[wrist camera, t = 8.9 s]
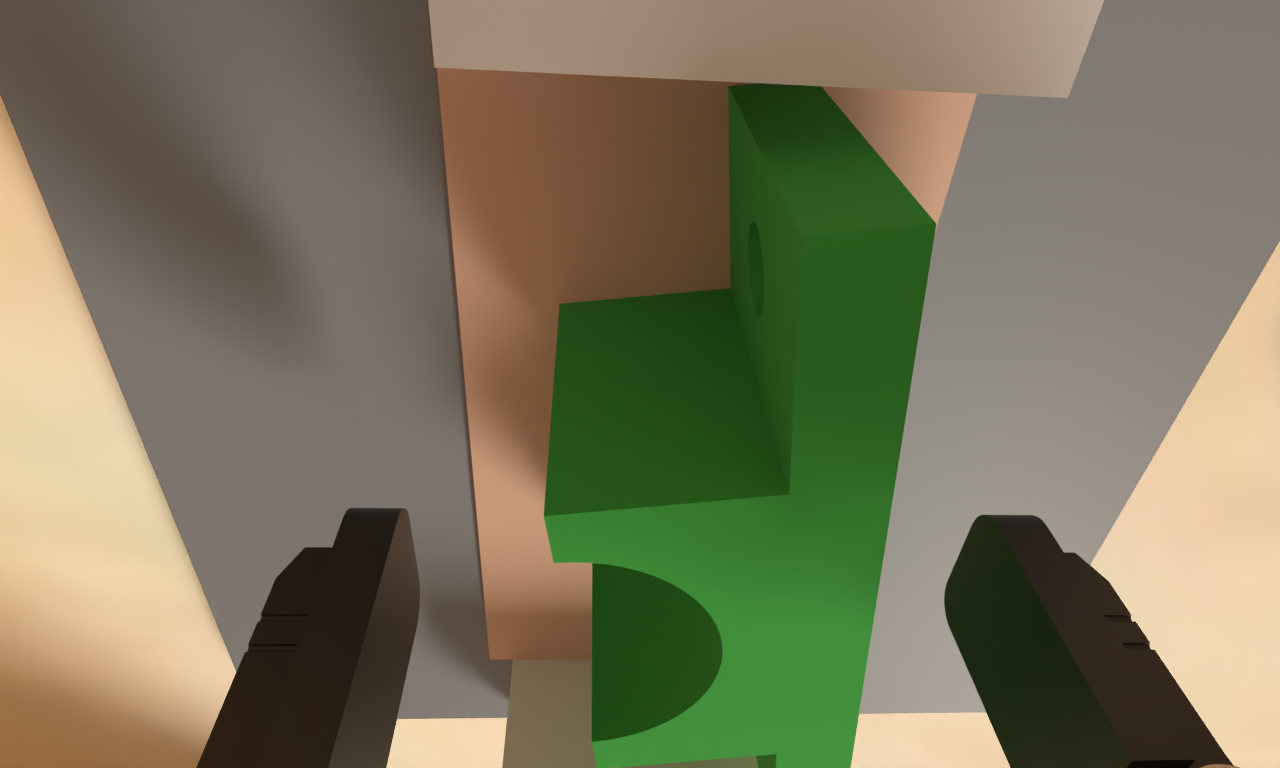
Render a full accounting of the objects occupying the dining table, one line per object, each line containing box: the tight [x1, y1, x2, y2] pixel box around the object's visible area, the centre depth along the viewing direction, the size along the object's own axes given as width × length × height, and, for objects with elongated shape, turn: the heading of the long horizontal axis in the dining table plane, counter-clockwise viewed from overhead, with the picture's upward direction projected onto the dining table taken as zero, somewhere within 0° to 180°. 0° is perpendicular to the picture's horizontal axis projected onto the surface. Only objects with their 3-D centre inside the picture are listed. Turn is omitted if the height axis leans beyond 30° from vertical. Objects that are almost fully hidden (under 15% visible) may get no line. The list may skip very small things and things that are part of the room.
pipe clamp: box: [544, 83, 936, 768], centre depth 12 cm, size 11×4×5 cm, turn 4°
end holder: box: [0, 0, 1280, 768], centre depth 13 cm, size 18×18×4 cm
